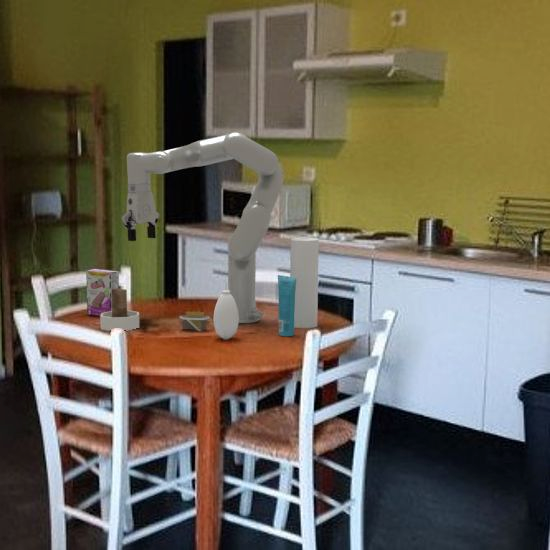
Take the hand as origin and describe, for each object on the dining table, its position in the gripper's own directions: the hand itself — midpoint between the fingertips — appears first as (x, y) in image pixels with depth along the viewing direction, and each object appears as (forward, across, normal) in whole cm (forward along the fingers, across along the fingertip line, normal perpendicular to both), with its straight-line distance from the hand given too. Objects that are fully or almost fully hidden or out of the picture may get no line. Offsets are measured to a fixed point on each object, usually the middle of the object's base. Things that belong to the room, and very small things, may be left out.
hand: (142, 239), depth 277 cm
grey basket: (+30, -3, -24) cm, 38 cm away
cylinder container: (+30, +25, -49) cm, 63 cm away
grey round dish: (+28, -13, 0) cm, 31 cm away
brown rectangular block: (+27, -13, 0) cm, 30 cm away
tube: (+30, +9, -52) cm, 61 cm away
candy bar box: (+28, -2, +18) cm, 34 cm away
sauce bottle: (+30, -6, -39) cm, 50 cm away
